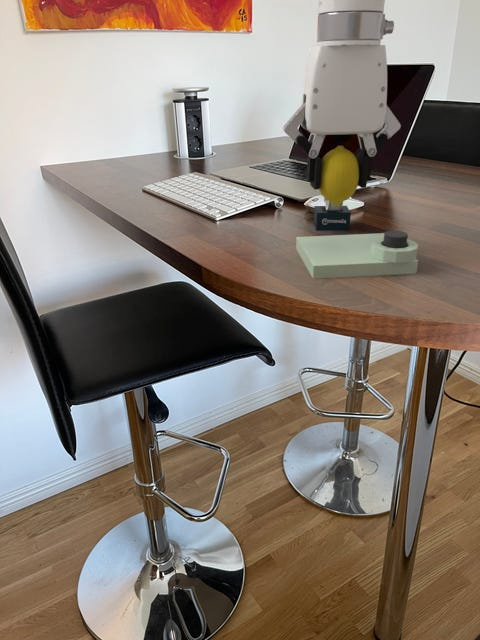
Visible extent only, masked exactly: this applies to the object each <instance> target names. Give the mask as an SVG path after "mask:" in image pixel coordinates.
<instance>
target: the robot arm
mask: <svg viewBox="0 0 480 640" xmlns="http://www.w3.org/2000/svg"><path fill="white" fill-rule="evenodd" d="M385 1H386V0H318V8H317V9H318V10H317V11H318V12H317V14H318V15H317V29H316V45H315V46H309V48H308V53H307V57H306V63H305V69H304V76H303V84H302V93H301V95H302V96H301V103H300V104H301V105H300V106H299V108H298V109H297V110H296V111H295V112H294V113H293V115H292V116H291V117H290V118H289V119H288V120H287V122H286V123H285V124H284V125H283V127H282V130H283V132H284V133H285V134H286V135H287V136H288V137H289V138H290V139H291V140H292V141H293V142H295V144H296V145H297V146H298V147H299V148H300V149H301V150H302V151H303V153H305V155H307V159H306V163H307V164H306V181H307V183H309V185H310V187H311V188H312V189H313V190H319V188H320V183H321V166H322V158H321V157H320V150H321V148H322V146H323V143H324V140H325V138H326V136H329V135H330V136H331V135H332V136H334V135H335V136H336V135H357V138H358V143H359V146H360V150H359V152H358V153H357V154H356V159H357V161H358V165H359V182H358V186H359V187H360V188H361V189H366V188H367V184H368V183H367V182H368V181H370V180H371V177H372V176H371V174H372V165H373V157H375V156H376V154H377V152H378V151H379V150H380V149H381V148H382V147H383V146H384V145H385V144H386V143H387V142H388V140H389V139H391V138H392V137H393V136H394V135H395V134H396V133H397V132H399V130H401V127H402V125H401V123H400V122H399V120H398V119H397V117H396V116H395V114H394V113H393V112H392V110H391V108H390V107H389V106H388V104H387V100H388V61H387V50H386V49H387V47H386V44H381V43H382V41H381V40H383V38H384V36H386V35H389V34H392V33H393V32H394V29H395V21H394V20H388V19H386V13H384V12H385ZM300 126H301V128H303V129H304V130H306V131H308V132H309V133H310V135H309V138H308V139H307V137H305V136H304V134H302V133H301V132H300V131H299V127H300ZM374 133H375V134H374ZM358 186H357V187H358Z"/></svg>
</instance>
